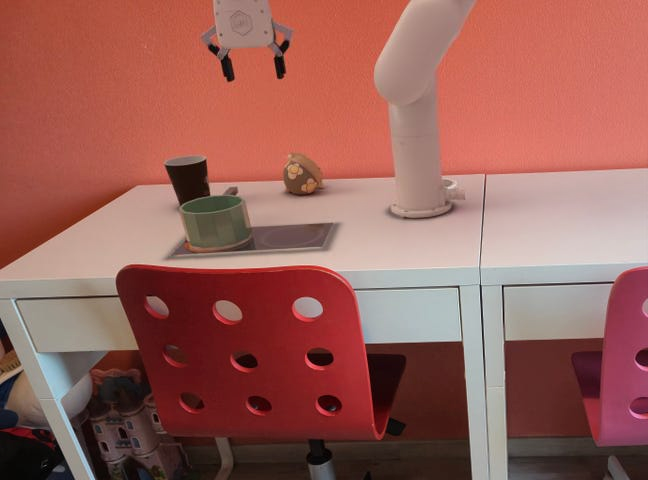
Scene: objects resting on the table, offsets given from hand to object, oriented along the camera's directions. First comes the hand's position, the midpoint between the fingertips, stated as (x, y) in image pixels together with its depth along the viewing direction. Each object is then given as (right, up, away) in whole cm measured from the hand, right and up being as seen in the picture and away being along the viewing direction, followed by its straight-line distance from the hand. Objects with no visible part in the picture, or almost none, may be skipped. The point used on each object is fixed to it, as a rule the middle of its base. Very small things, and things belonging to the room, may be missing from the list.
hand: (256, 79), depth 137 cm
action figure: (+4, -16, +26) cm, 31 cm away
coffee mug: (-19, -20, +21) cm, 34 cm away
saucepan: (-6, -29, +1) cm, 30 cm away
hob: (+1, -32, -3) cm, 32 cm away
